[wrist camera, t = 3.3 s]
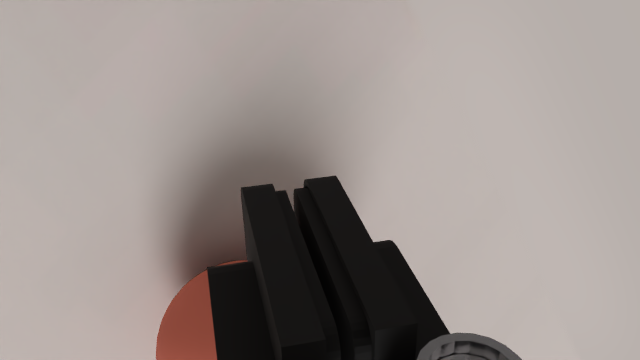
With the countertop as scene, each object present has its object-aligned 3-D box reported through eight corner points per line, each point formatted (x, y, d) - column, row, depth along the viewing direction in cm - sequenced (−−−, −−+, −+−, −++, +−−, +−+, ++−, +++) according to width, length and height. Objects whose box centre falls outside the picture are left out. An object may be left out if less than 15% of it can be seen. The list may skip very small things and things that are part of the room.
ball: (142, 241, 22) (142, 364, 17) (307, 216, 23) (353, 324, 18) (166, 363, 25) (172, 499, 19) (310, 335, 26) (351, 456, 21)
